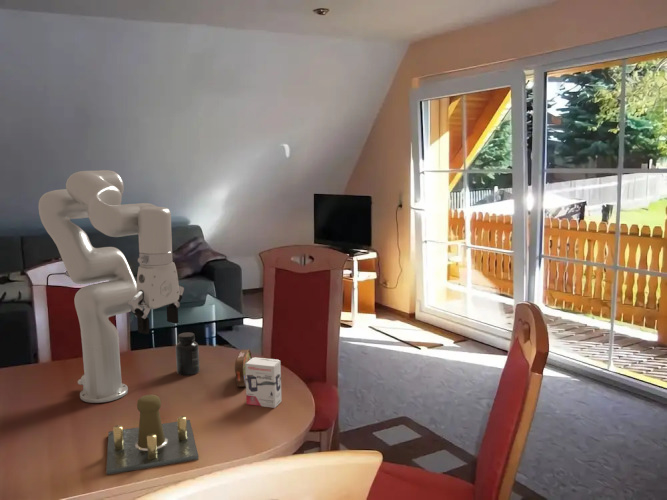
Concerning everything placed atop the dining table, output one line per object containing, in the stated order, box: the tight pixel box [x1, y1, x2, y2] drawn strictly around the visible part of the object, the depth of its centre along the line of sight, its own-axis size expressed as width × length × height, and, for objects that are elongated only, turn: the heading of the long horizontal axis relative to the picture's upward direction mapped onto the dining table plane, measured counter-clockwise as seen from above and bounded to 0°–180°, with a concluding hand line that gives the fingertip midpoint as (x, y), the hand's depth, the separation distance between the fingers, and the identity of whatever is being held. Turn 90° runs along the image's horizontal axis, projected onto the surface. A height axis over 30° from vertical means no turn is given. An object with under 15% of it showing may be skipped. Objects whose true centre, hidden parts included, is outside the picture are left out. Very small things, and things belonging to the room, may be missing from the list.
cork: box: [136, 394, 165, 448], centre depth 138 cm, size 6×6×11 cm
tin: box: [234, 349, 253, 388], centre depth 178 cm, size 15×3×8 cm, turn 179°
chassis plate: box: [105, 415, 199, 476], centre depth 139 cm, size 19×19×6 cm
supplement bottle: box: [175, 331, 200, 377], centre depth 186 cm, size 7×7×12 cm
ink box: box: [245, 356, 282, 409], centre depth 162 cm, size 8×5×12 cm, turn 73°
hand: (158, 327), depth 147 cm, fingers open, 9 cm apart
